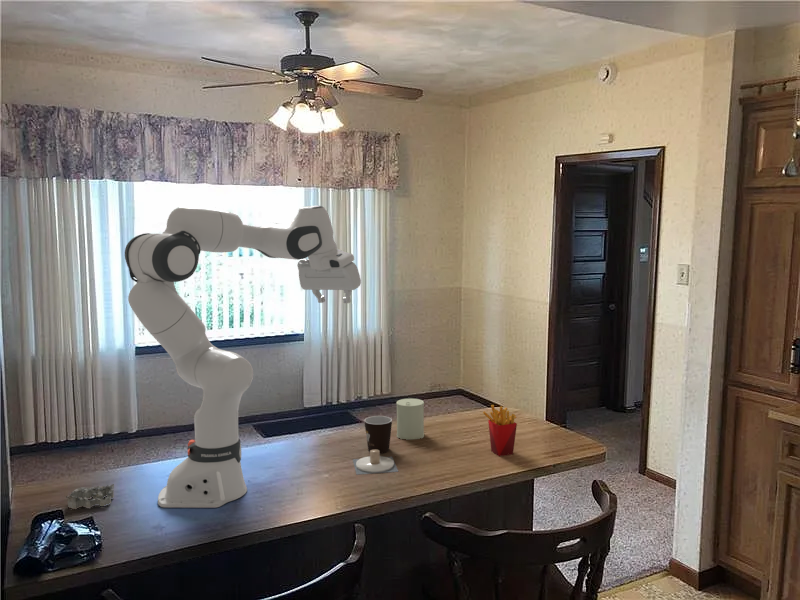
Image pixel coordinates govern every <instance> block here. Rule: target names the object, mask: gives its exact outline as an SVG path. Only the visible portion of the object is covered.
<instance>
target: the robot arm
mask: <svg viewBox="0 0 800 600" xmlns="http://www.w3.org/2000/svg"><path fill="white" fill-rule="evenodd" d="M336 243H337V242H336V241H335V240H334V229H333V226H332V222H331V219H330V215H329V212H328V211H327V209H326V207H324V206H322V205H306V206H301V207H300V208H299V209H298V212H297V214H296V216H295V217H294V219H293V220H292V221H291V222H290V223H288V224H282V223H276V222H275V223H274V222H272V223H271V222H270V223H267V224H264V225H261V226H256V225H255V226H253V225H249V224H244V223H243V220H242V219H241V217H240V216H239V215H237V214H235V213H233V212H231V211H228V210H224V209H220V208H216V207H208V206H200V205H199V206H197V205H195V206H193V205H192V206H191V205H190V206H187V205H186V206H179V207H176V208H175V209H173V210H172V211H171V212H170V214H169V215H168V218H167V220H166V228H165V230H164V231H163V232H162V233H148V232H145V233H142V234H139V235H136V236H134V237H133V238H131V239H130V240H129V241H128V242H127V244H126V246H125V248H124V259H125V263H126V266H127V268H128V272H129V278H130V279H131V280H132V281H133V282H135V285H133V286H132V287H131V289H130V291H129V293H128V296H127V297H128V298H127V299H128V304H129V306H130V308H131V310H132V311H133V313H134V314H135V316H136V318H137V319H138V320H139V322H140V323H141V325H142V326H143V328H145V330H146V331H148V332H149V334H150V335H151V336H152V337H153V338H154V339H155V340H156V341H157V342H158V344H159V345H160V346H161V347H162V348H163V349H164V350H165V351H166V352H167V354H168V355H169V356H170V359H171V360H172V362H173V363H174V365H175V369H176V374H177V375H178V377H180V379H182V380H183V381H184V382H185V383H187V384H188V385H190V386H192V387H195V388H199V389H202V392H203V393H202V400H201V405H200V407H199V408H197V410H195V413H194V415H193V421H194V423H193V424H194V439H189V441H188V443H187V458H185V459H184V460H183V461H182V462H180V463H179V464H178V465H176V466H175V467H174V468H173V469H172V470H171V472H170V473H169V475H168V478H167V482H166V485H165V487H164V486H163V488H162V489H161V490H160V492H159V493H158V495H157V504H158V506H160V507H161V508H189V509H190V508H195V509H196V508H197V509H198V508H199V509H200V508H204V509H205V508H219V507H222V506H224V505H225V504H227V503H229V502H233V501H235V500H237V499H239V498H241V497H243V496H245V494H246V493H247V492H248V487H247V484H246V481H245V479H244V478H245V477H244V475H243V469H242V462H241V461H242V444H241V439H240V437H239V409H240V405H241V399H242V397H243V395H244V393H245V392H247V390H248V389H249V388H250V387H251V384H252V382H253V378H254V369H253V366H252V364H251V362H250V361H249V360H248V359H246V358H245V357H243V356H242V355H240V354H238V353H236V352H233V351H229V350H224V349H221V348H219V347H216V346H215V345H213V344H212V343H211V341H210V340H209V338H208V337H207V333H206V326H205V324H204V322H203V321H202V320H201V319H200V317H199V316H198V315H197V314H196V313H195V312H194V310H192V308H190V306H189V305H188V304H187V303H186V301H185V300H184V299H183V298H182V297H181V296H180V294H179V293H178V291H177V290H176V289H177V288H176V286H175V283H177V282H182V281H185V280H187V279H189V278H190V277H191V276H193V275H194V274H195V271H196V270H197V267H198V265H199V260H200V258H199V257H200V254H201V252H202V251H203V252H208V253H210V252H211V253H231V252H235V251H236V250H237V249H239V248H246V249H253V250H257V251H258V252H260V253H261V254H263V255H264V256H265V257H267V258H269V259H270V258H272V259H287V260H295V261H296V260H297V261H298V260H299V261H298V262H297V263H296V264H297V269H298V280H299V285H300V288H302V290H304V291H305V290H306V291H307V290H309V291H310V290H311V292H312V294H313V295H314V297H316V299H317V303H320V304H324V303H325V302H326V299H325V298H326V297H325V295H323V294H321V292H320V291H321V290H322V291H343V293H344V294H345V295H344V297H342V300H343V304H350V303H351V302H352V300H351V295H352V291H355V290H356V289H358V288H359V287H361V283H362V280H361V275H360V272H359V269H358V266H357V264H356V263H355V262H354V260H355V256H354V254H352V253H351V252H347V251H344V250H342V249H339V248H338V247H337V244H336Z"/></svg>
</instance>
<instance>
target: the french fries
mask: <svg viewBox="0 0 800 600" xmlns="http://www.w3.org/2000/svg"><path fill="white" fill-rule="evenodd" d="M490 407H491V411H490V412H489V413H487V412H486V411H485V410H483V412H482V414H483V415H485V417H486V418H488V419H487V420H488V421H487V422H488V432H489V441H490V450H491V452H492V453H493V454H495V455H496V456H498V457H504V456H510V455H513V454H514V450H515V449H514V448H515V442H516V434H517V426H518V423H516V422H515V419H517V416H516V414H515V413H512V414H511V415H510V411H509V410H508V407H504V408H503V406H501V405H500V406H499V410H498V409H496V408H495V405H494V404H491V405H490ZM489 414H490V415H489Z"/></svg>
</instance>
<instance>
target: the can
mask: <svg viewBox="0 0 800 600" xmlns="http://www.w3.org/2000/svg"><path fill="white" fill-rule="evenodd" d="M424 406H425V402H424V400H422V399H419V398H412V397H411V398H402V399H399V400H396V438H398V439H399V438H400V440H402V439H406V441H407V440H409V441H410V440H421V439H423V438H424V437H425V429H424V428H425V425H424V424H425V423H424V422H425V421H424V420H425V419H424V418H425V417H424V415H425V412H424V411H425V409H424ZM420 438H421V439H420Z"/></svg>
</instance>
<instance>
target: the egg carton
mask: <svg viewBox="0 0 800 600" xmlns="http://www.w3.org/2000/svg"><path fill="white" fill-rule="evenodd" d="M114 488H115V484H114V483H112V484H107V485H106V486H104V485H102V486H100V485H97V486H92V487H84V486H81V487H77V488H76V489H74V490H72V491H71V493H70V494H69V495H66V497H65V498H66V499H67V508H68V507H71V508H77V507H79V506H86V507H91V506H92V505H95V504H99V505H100V506H104V505H106V504H109V503H111V504H112V500H111V498H113V497H114V498H115V493H114V492H115V491H114ZM106 495H107V497H105V498H103V497H104V496H106ZM92 496H93V498H92V499H90V500H88V499H87V498H90V497H92ZM79 497H80V498H79ZM81 497H82V498H81ZM100 506H99V507H100Z"/></svg>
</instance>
